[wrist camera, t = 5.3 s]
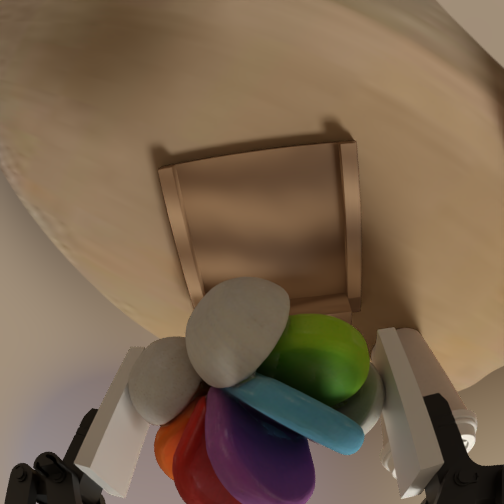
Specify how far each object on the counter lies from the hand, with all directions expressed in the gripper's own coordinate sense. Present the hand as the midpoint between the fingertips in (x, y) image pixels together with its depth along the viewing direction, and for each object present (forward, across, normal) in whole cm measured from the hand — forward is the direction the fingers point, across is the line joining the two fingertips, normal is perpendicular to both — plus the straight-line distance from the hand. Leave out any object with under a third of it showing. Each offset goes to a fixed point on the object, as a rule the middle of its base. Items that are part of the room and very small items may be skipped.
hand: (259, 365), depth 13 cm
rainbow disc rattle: (0, 0, 0) cm, 0 cm away
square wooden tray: (+16, 0, -1) cm, 16 cm away
